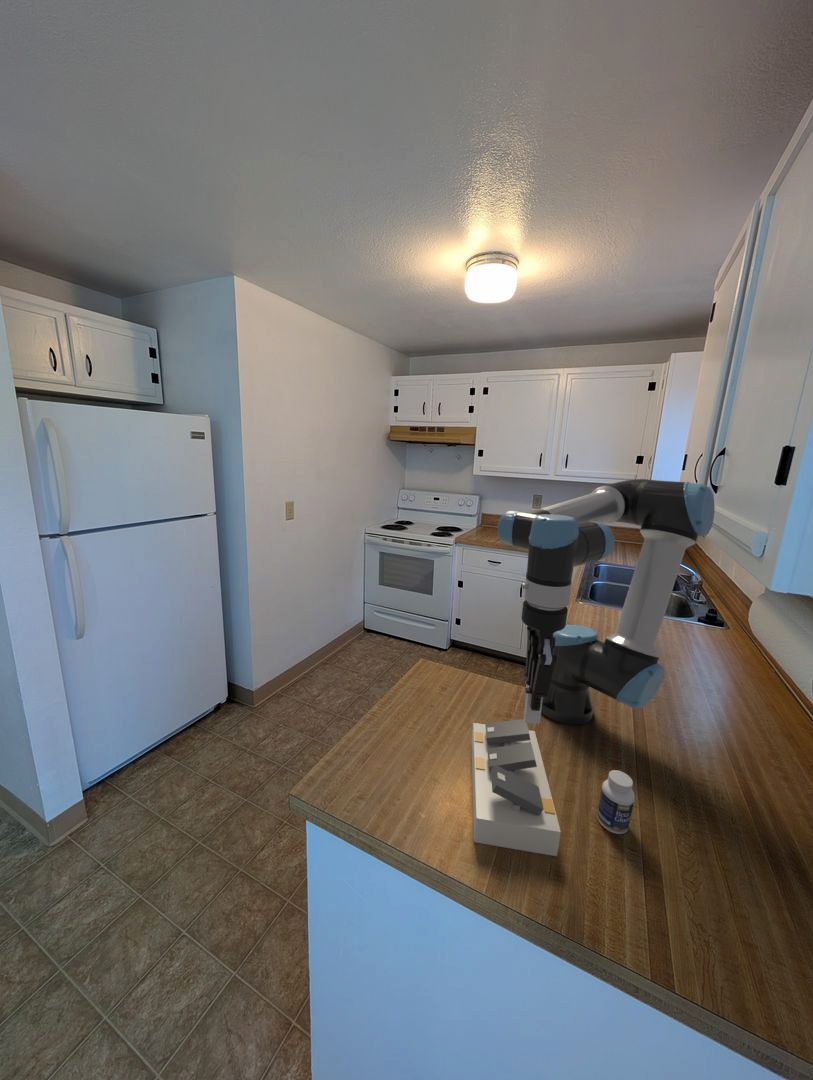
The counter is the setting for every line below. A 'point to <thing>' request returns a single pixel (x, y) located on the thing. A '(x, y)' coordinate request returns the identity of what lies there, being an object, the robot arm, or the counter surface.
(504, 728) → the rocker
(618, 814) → the pill bottle
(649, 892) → the counter surface
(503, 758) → the block
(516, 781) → the block
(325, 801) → the counter surface
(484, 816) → the switch unit
